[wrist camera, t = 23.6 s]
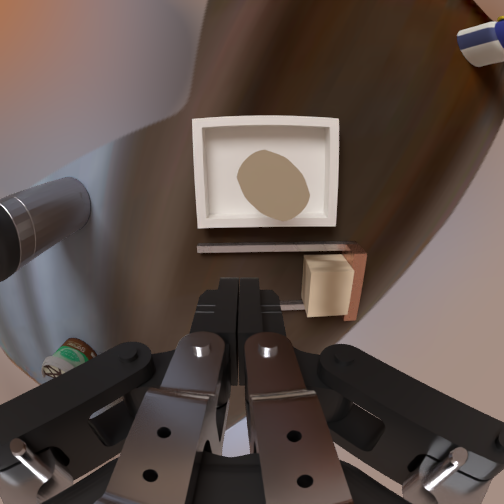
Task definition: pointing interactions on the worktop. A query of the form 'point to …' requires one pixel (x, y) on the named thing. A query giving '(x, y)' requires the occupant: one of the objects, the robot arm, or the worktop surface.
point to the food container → (67, 357)
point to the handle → (273, 185)
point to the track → (348, 248)
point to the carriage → (326, 285)
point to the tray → (271, 139)
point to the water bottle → (483, 43)
